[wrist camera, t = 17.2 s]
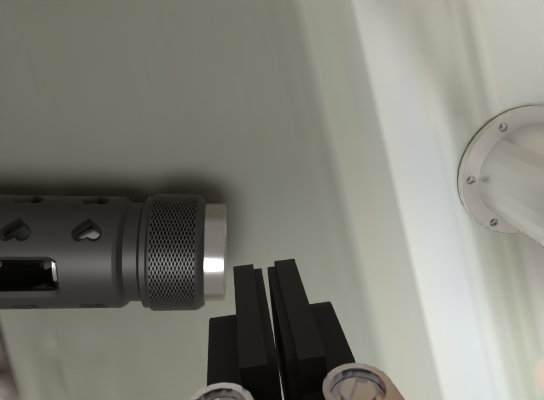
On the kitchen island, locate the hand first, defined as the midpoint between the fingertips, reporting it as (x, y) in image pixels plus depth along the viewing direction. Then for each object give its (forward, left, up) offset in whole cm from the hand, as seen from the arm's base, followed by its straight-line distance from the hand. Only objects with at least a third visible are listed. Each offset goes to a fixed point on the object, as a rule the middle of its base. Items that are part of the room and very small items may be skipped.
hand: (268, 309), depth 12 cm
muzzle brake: (+16, +8, -30) cm, 34 cm away
